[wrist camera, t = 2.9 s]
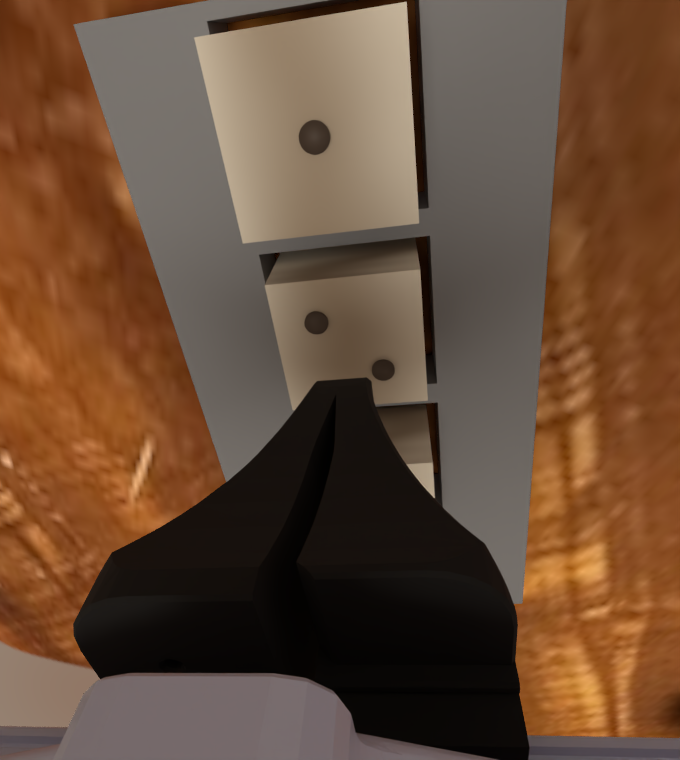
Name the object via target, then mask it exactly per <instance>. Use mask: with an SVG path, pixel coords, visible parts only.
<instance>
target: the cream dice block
mask: <svg viewBox="0 0 680 760" xmlns="http://www.w3.org/2000/svg"><path fill="white" fill-rule="evenodd" d="M265 289H266V294H267V298H268V303H269V307H270V312H271V316H272V320H273V325H274V329H275V334H276V338H277V343H278V347H279V352H280V356H281V361H282V365H283V370H284V374H285V378H286V383H287V387H288V392H289V396H290V401H291V405H292V410H295V409H296V408H297V407H298V405H299V404H300V403H301V401H302V400H303V398H304V397H305V396H306V394H307V393H308V392H309V390H310V389H311V387H312V386H313V385H314V384H315V383H316V381H323V380H337V379H350V378H364V377H367V378H368V379H369V380H371V381H372V389H373V397H374V403H375V404H388V403H402V402H416V401H428V394H427V377H426V360H425V343H424V326H423V309H422V291H421V274H420V265H419V258H418V252H417V246H416V239H415V237H414V238H405V239H396V240H387V241H378V242H368V243H359V244H350V245H341V246H332V247H323V248H314V249H305V250H296V251H287V252H281V253H280V255H279V257H278V259H277V261H276V263H275V265H274V267H273V269H272V271H271V273H270V275H269V277H268V279H267V281H266V284H265Z"/></svg>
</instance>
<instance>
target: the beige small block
mask: <svg viewBox="0 0 680 760" xmlns="http://www.w3.org/2000/svg"><path fill="white" fill-rule="evenodd" d="M376 409H377V411H378V414H379V416H380V418H381V421H382V423H383V425H384V427H385V429H386V431H387V433H388V435H389V437H390V439H391V441H392V442H393V444H394V446H395V448H396V449H397V451H398V453H399V454H400V456H401V457H402V459H403V460H404V462H405V463H406V465H407V466H408V467H409V469H410V470H411V472H412V473H413V474H414V475H415V477H416V478H417V479H418V480H419V482H420V483H421V484H422V485H423V487H424V488H425V489H426V490H427V491H428V492H429V493H430V494H431V495H432V496H433V497H434V498H435V493H434V475H433V460H432V452H431V443H430V434H429V426H428V417H427V408H426V404H423V405H409V406H395V407H380V408H376Z"/></svg>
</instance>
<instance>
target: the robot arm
mask: <svg viewBox="0 0 680 760" xmlns="http://www.w3.org/2000/svg"><path fill="white" fill-rule="evenodd" d="M73 626H74V637H75V639H76V641H77V644H78V646H79V648H80V650H81V652H82V653H83V655H84V656H85V658H86V659H87V661H88V662H89V664H90V665H91V666H92V668H93V669H94V671H95V672H96V674H97V675H98V677H99V678H100V680H98V681H96V682H95V683H94V684H93V685H92V686H91V687H90V688H89V689H88V690H87V691H86V692H85V693H84V694H83V696H82V698H81V700H80V703H79V705H78V707H77V709H76V711H75V714H74V715H73V718H72V720H71V722H70V724H69V726H68V727H16V726H0V760H680V738H641V737H585V736H528V735H527V731H526V726H525V721H524V716H523V711H522V706H521V701H520V696H519V693H520V683H519V678H518V673H517V668H516V663H515V655H516V641H517V626H518V624H517V615H516V610H515V606H514V603H513V601H512V598H511V595H510V592H509V590H508V587H507V585H506V583H505V580H504V578H503V576H502V574H501V572H500V570H499V568H498V566H497V564H496V562H495V561H494V559H493V557H492V555H491V553H490V552H489V550H488V548H487V546H486V544H485V543H484V542H482V541H481V540H480V539H478V538H477V537H476V536H475V535H473V534H472V533H471V532H470V531H468V530H467V529H466V528H465V527H464V526H463V525H461V524H460V523H459V522H458V521H457V520H456V519H455V518H454V517H452V516H451V515H450V514H449V513H448V512H447V511H446V510H445V509H444V508H443V507H442V506H441V505H440V504H439V503H438V502H437V501H436V500H435V498H434V497H433V496H432V495H431V494H430V493H429V492H428V491H427V490H426V489H425V488H424V487H423V485H422V484H421V483H420V482H419V480H418V479H417V478H416V477H415V475H414V474H413V473H412V472H411V470H410V469H409V467H408V466H407V465H406V463H405V462H404V460H403V459H402V457H401V456H400V454H399V453H398V451H397V449H396V448H395V446H394V444H393V442H392V441H391V439H390V437H389V435H388V433H387V431H386V429H385V427H384V425H383V423H382V421H381V418H380V416H379V414H378V411H377V409H376V406H375V403H374V397H373V389H372V381H371V380H369V379H368V378H367V377H364V378H350V379H337V380H323V381H316V383H315V384H314V385H313V386H312V387H311V389H310V390H309V392H308V393H307V394H306V396H305V397H304V398H303V400H302V401H301V403H300V404H299V405H298V407H297V408H296V409H295V411H294V412H293V413H292V414H291V416H290V417H289V418H288V419H287V421H286V422H285V423H284V424H283V426H282V427H281V428H280V429H279V431H278V432H277V433H276V434H275V435H274V436H273V438H272V439H271V440H270V441H269V442H268V443H267V444H266V445H265V446H264V447H263V449H262V450H261V451H260V452H259V453H258V454H257V455H256V456H255V457H254V458H253V459H252V460H251V461H250V462H249V463H248V464H247V465H246V466H244V467H243V468H242V469H241V470H240V471H239V472H238V473H237V474H236V475H234V476H233V477H232V478H231V479H230V480H228V481H227V482H226V483H225V484H223V485H222V486H221V487H219V488H218V489H217V490H215V491H214V492H213V493H211V494H210V495H209V496H207V497H206V498H205V499H203V500H202V501H201V502H199V503H198V504H197V505H195V506H194V507H192V508H190V509H189V510H187V511H186V512H184V513H183V514H181V515H180V516H178V517H177V518H175V519H173V520H172V521H170V522H168V523H167V524H165V525H163V526H162V527H160V528H158V529H156V530H155V531H153V532H151V533H149V534H147V535H145V536H143V537H141V538H140V539H138V540H136V541H134V542H132V543H130V544H128V545H126V546H124V547H122V548H120V549H118V550H116V551H114V552H112V553H111V555H110V557H109V558H108V560H107V562H106V563H105V565H104V567H103V568H102V570H101V572H100V573H99V575H98V577H97V579H96V581H95V583H94V585H93V587H92V589H91V591H90V593H89V594H88V596H87V598H86V600H85V602H84V604H83V606H82V608H81V610H80V612H79V614H78V616H77V618H76V620H75V622H74V624H73Z"/></svg>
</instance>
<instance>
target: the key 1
mask: <svg viewBox="0 0 680 760" xmlns="http://www.w3.org/2000/svg"><path fill="white" fill-rule="evenodd" d="M194 39H195V43H196V48H197V52H198V56H199V60H200V65H201V69H202V73H203V77H204V81H205V86H206V90H207V94H208V98H209V103H210V107H211V111H212V115H213V119H214V124H215V128H216V132H217V136H218V141H219V145H220V149H221V153H222V158H223V162H224V166H225V170H226V174H227V179H228V183H229V187H230V191H231V196H232V200H233V204H234V208H235V212H236V217H237V221H238V225H239V229H240V234H241V238H242V242H243V243H252V242H261V241H269V240H278V239H287V238H296V237H304V236H313V235H322V234H331V233H340V232H348V231H357V230H366V229H375V228H383V227H392V226H401V225H410V224H418V223H419V210H418V193H417V175H416V157H415V140H414V122H413V104H412V87H411V69H410V51H409V34H408V16H407V2H401V3H395V4H389V5H383V6H378V7H372V8H366V9H360V10H354V11H348V12H342V13H336V14H330V15H324V16H318V17H312V18H306V19H300V20H294V21H288V22H283V23H277V24H271V25H265V26H259V27H253V28H247V29H241V30H235V31H229V32H223V33H217V34H211V35H205V36H199V37H194Z"/></svg>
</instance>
